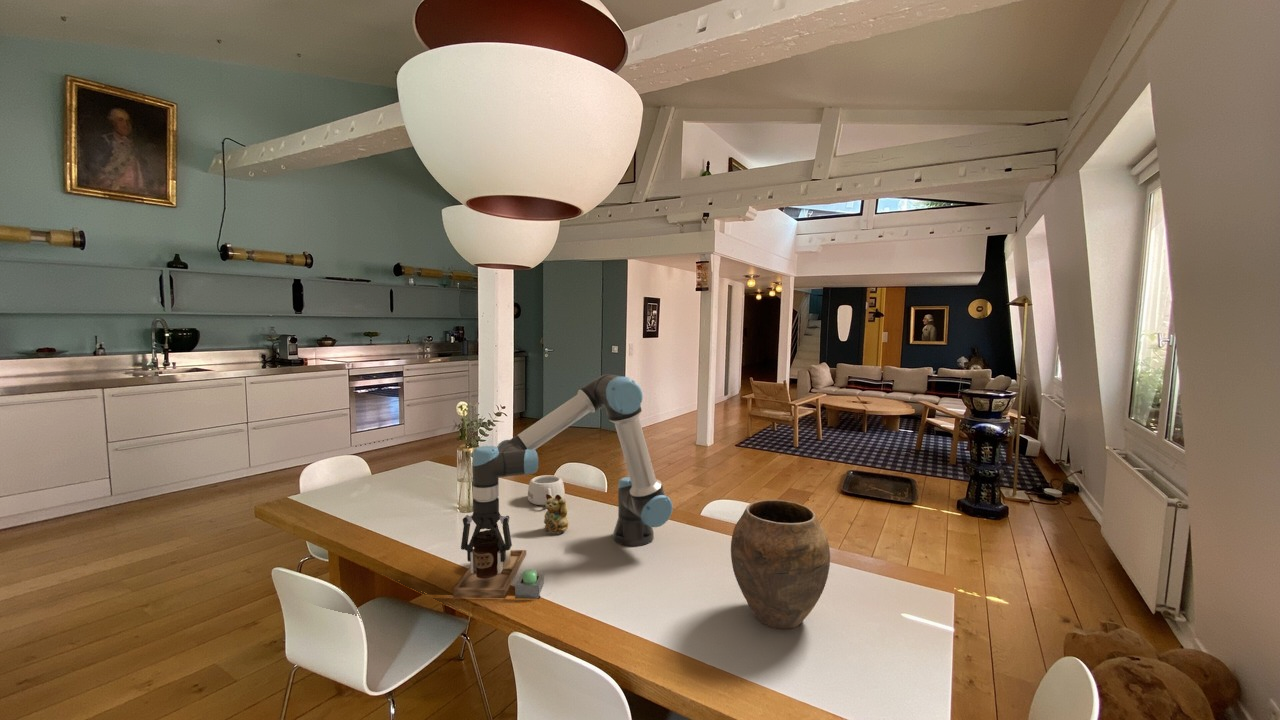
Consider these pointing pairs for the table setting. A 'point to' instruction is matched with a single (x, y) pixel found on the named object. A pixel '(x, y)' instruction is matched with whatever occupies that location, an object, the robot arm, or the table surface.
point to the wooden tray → (490, 580)
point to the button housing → (529, 588)
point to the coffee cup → (486, 554)
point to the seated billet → (508, 554)
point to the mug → (544, 488)
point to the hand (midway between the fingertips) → (486, 571)
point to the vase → (780, 561)
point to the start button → (529, 576)
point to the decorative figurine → (555, 514)
